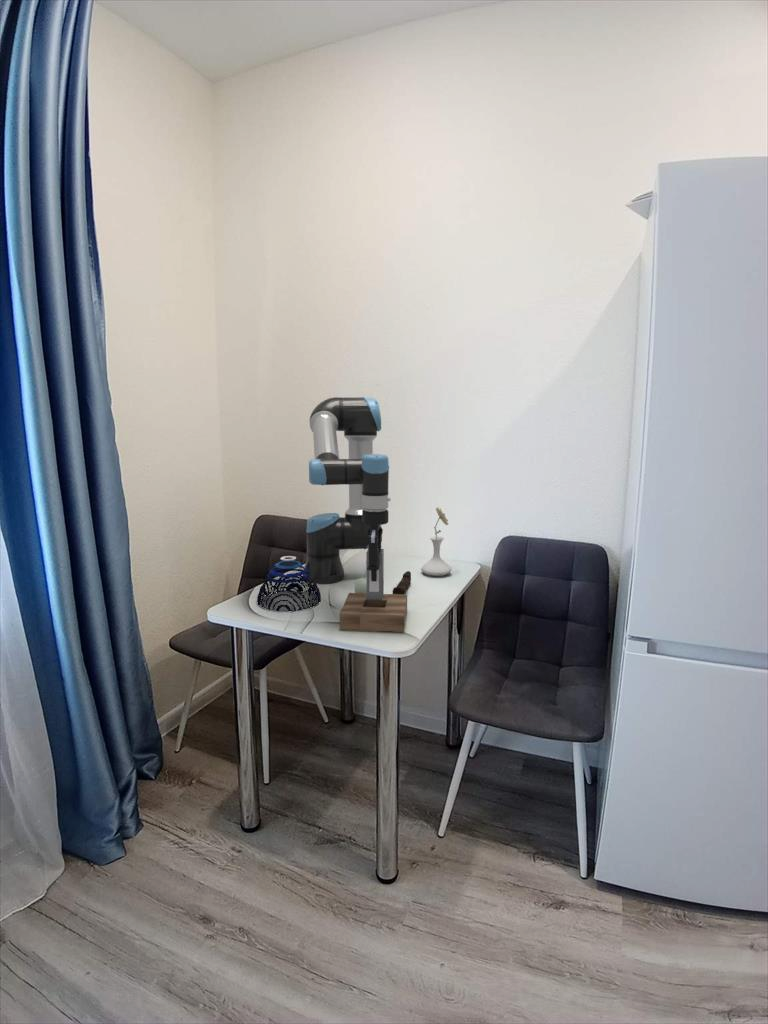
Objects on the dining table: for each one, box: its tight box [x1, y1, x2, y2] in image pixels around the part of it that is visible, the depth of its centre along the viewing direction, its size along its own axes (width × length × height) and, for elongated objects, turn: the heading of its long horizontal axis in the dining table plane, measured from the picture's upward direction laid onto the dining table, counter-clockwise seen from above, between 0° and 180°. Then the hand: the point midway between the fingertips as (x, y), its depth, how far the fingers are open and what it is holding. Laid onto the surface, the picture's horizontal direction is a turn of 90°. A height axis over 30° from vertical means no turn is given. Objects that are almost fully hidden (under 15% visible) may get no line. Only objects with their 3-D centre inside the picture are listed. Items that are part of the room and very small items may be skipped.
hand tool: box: [392, 570, 412, 595], centre depth 195 cm, size 19×4×5 cm, turn 164°
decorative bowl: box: [256, 555, 322, 612], centre depth 183 cm, size 20×20×14 cm
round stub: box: [354, 577, 367, 593], centre depth 182 cm, size 8×8×7 cm
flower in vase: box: [420, 506, 452, 577], centre depth 213 cm, size 13×11×25 cm
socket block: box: [339, 592, 408, 633], centre depth 167 cm, size 18×18×5 cm
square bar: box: [365, 548, 385, 600], centre depth 165 cm, size 4×4×14 cm
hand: (375, 588), depth 166 cm, fingers closed on square bar, 4 cm apart
